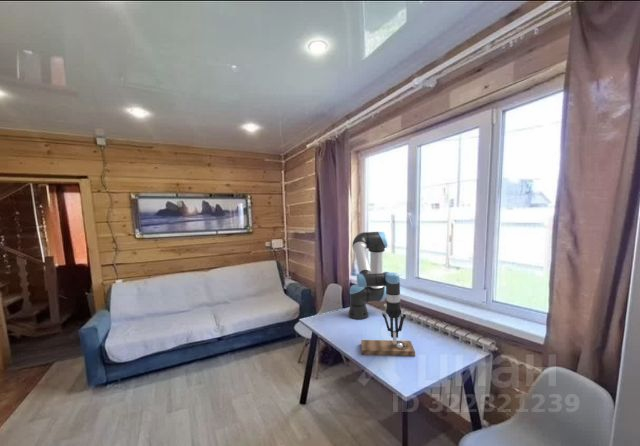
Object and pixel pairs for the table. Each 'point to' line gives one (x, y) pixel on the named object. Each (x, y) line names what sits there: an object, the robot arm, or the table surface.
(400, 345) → the ball
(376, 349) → the board
